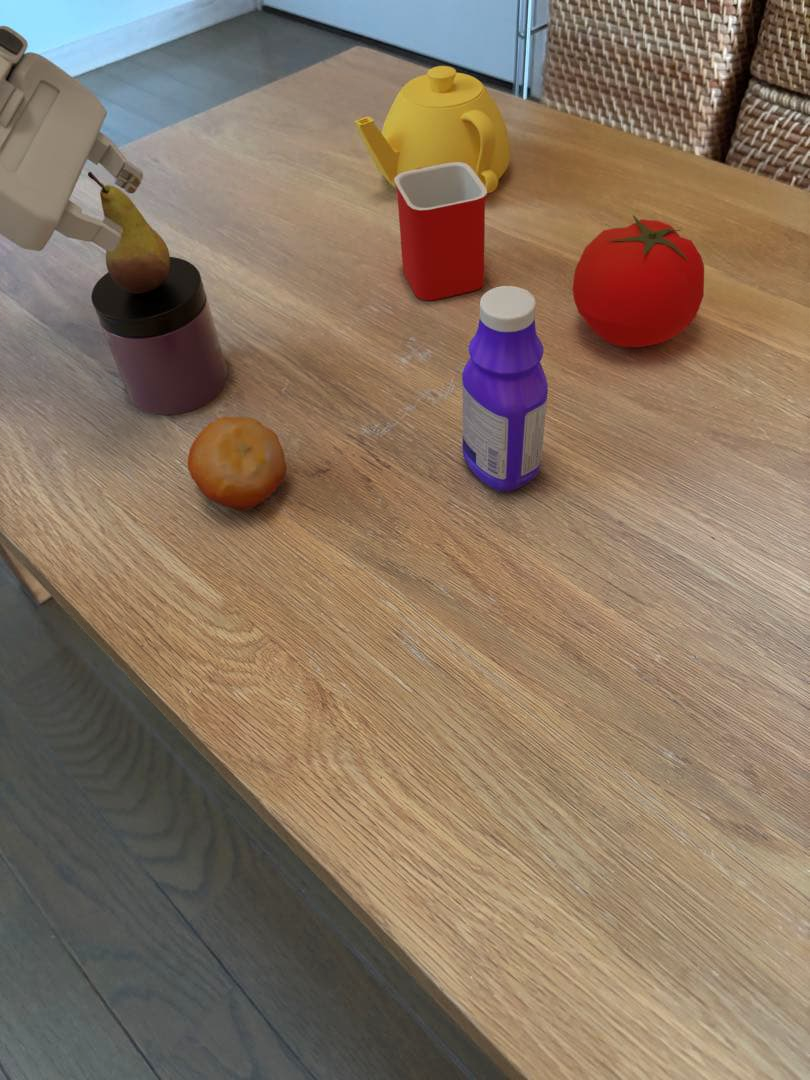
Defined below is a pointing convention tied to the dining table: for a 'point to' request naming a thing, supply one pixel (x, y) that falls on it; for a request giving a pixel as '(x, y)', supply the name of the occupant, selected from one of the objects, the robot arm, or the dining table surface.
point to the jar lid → (150, 302)
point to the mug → (442, 229)
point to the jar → (172, 366)
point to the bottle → (504, 392)
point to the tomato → (639, 284)
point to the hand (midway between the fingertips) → (129, 212)
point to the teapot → (440, 128)
